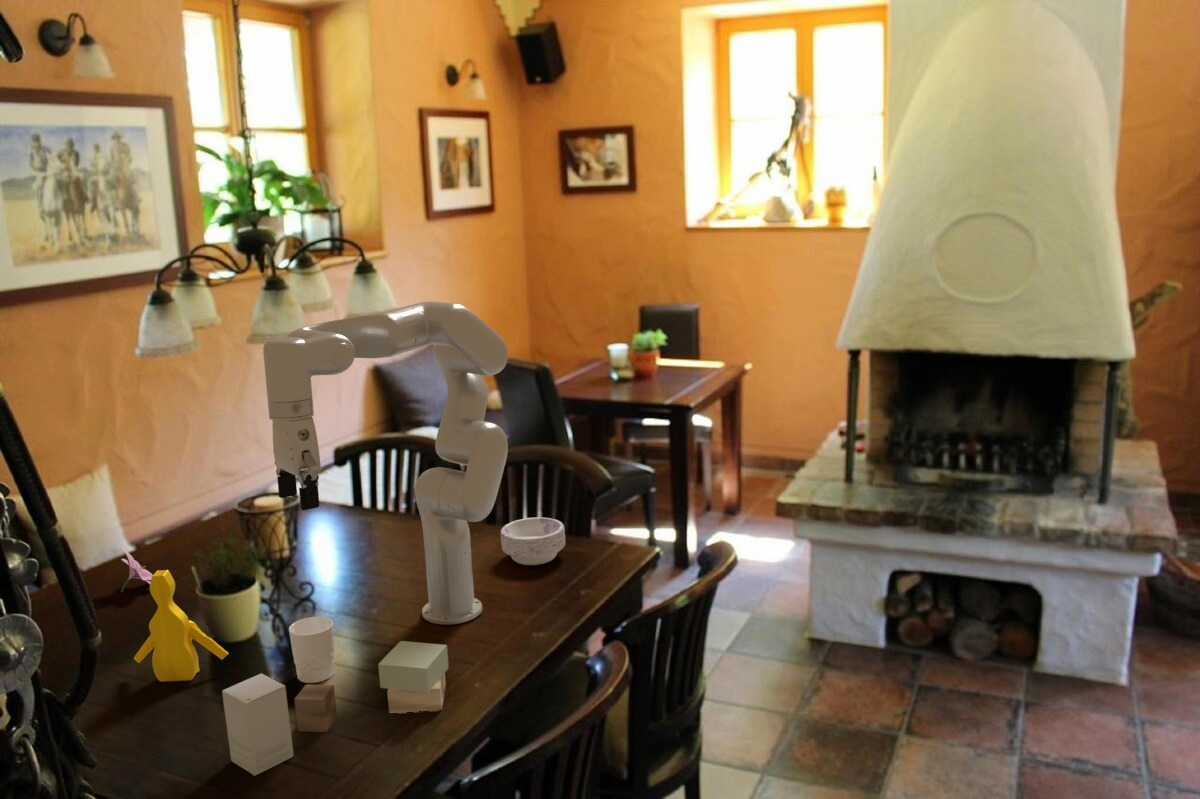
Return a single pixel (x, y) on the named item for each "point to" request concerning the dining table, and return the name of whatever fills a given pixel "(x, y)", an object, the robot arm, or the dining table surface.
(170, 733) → the dining table surface
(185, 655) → the figure statuette
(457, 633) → the dining table surface
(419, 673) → the top block
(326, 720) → the walnut block
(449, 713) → the dining table surface
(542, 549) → the paper bowls
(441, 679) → the base block
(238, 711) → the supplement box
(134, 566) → the lily
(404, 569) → the dining table surface
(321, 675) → the white cup
